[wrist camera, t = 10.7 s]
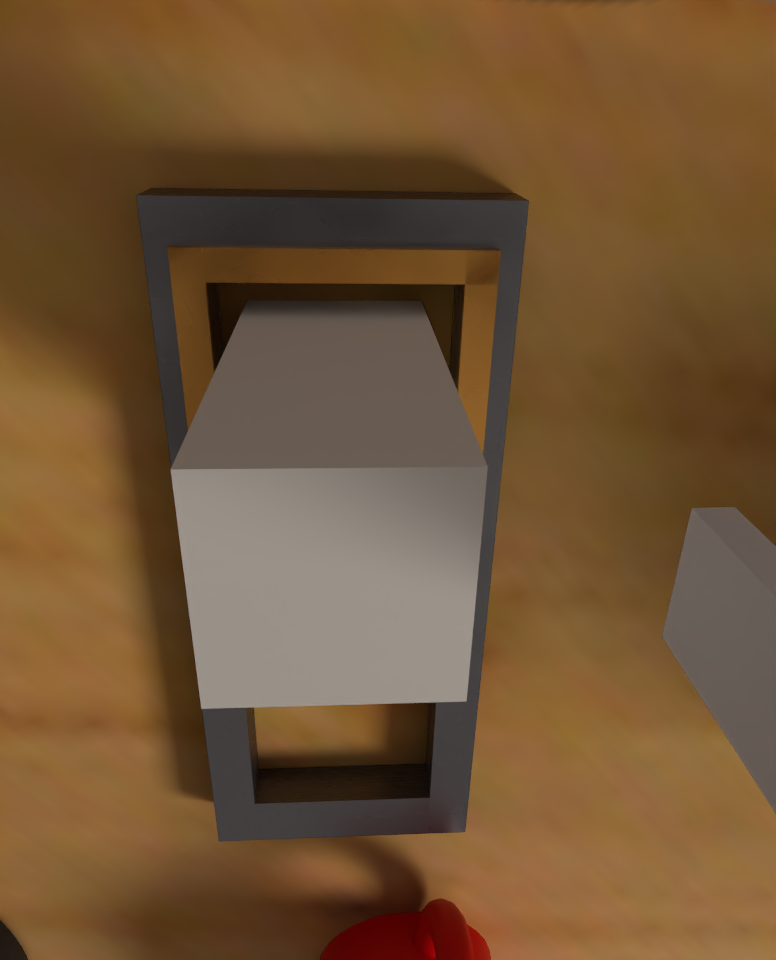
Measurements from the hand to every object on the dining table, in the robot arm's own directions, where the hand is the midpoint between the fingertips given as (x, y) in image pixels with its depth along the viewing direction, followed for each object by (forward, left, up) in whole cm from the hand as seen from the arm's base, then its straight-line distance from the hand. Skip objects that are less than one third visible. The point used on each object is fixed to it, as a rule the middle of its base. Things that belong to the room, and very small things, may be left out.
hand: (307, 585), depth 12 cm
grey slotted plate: (0, -6, -9) cm, 11 cm away
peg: (0, 0, -9) cm, 9 cm away
